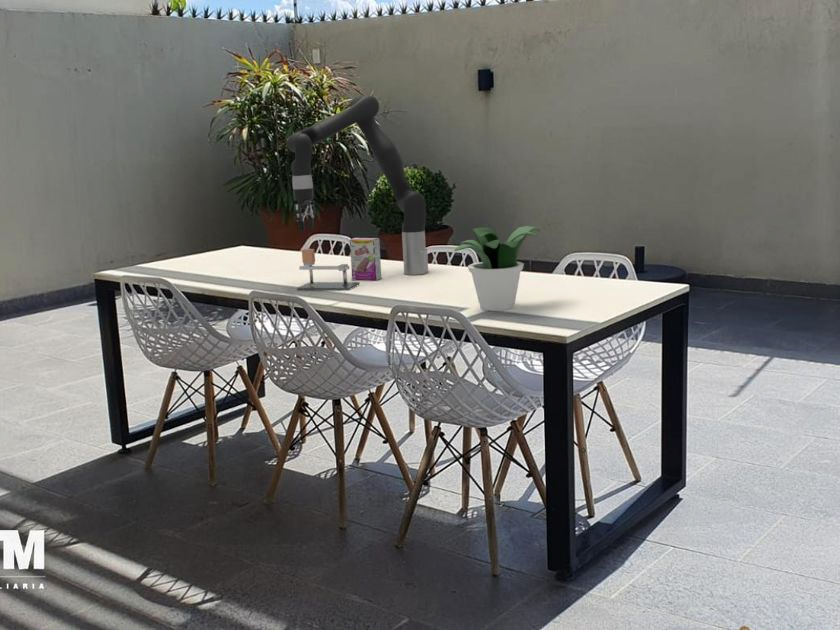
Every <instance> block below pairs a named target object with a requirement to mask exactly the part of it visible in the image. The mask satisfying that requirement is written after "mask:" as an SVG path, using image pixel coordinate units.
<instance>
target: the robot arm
mask: <svg viewBox="0 0 840 630" xmlns="http://www.w3.org/2000/svg"><path fill="white" fill-rule="evenodd" d="M379 111H380V104H379V101H378V99H377V98H376V97H374V96H373V95H370V94H363V95H360V96H356V97H354V98H353V99H351V100H350V102H349V107H348V108H346V109H344V110H342V111H340V112H338V113H334V114H333V115H331V116H330V115H329V116H328V117H326V118H324V119H322V120H320V121H318V122H316V123H314V124H312V125H311V126H309V127H306V128H303V129H301V130H299V131H297V132H295V133H292V134H291V135H290V136H289V137H288V139H287V141H286V147H287V148H288V150H289V151H291V152H292V153H295V154H294V160H292V162H291V173H292V191H293V193H292V194H293V200H294V201H297V203H295V204H293V211H294V212H293V215H294V221H296V222H297V227H298V232H303V233H304V232H305V228H306V227H305V217H306V218H307V219H306V224H307V229H308V230H309V229H314V227H315V226H314V218H315V217H316V207H315V205H316V204H315V201H314V199H315V197H314V182H313V178H312V168H311V167H312V166H311V160H312V154H313V145H315V144H319V143H322V142H324V141H326V140H327V139H330V138H331V137H333V136H334V135H337V134H338V133H340V132H341V131H343V130H346V129H347V128H349V127H351V126H353V125H355V124H356V125H357V126H358V128H359V129H360V131H361V133H362V134H363V136H364V138H365V140H366V142H367V144H368V146H369V148H370V150H371V153H372V154H373V156H374V158H375V160H376V162H377V164H378V166H379V168H380V170H381V171H382V173H383V176H384V177H385V179H386V180H387V183H388V184H389V186H390V188H391V191H392V193H393V195H394V198H395V200H396V203H397V207H398V208H399V209H400V211H401V212H402V213H403V216H404V217H403V220H404V221H403V223H402V225H401V236H402V237H401V239H402V256H403V257H402V258H403V273H404V275H407V276H414V275H415V276H416V275H425V274H427V273H429V260H428V259H429V258H428V248H426V233H425V232H426V231H425V226H426V223H427V213H426V212H427V210H426V207H427V205H426V199H425V197H424V195H423V194H421V193H420V192H417V191H414V190H413V188H412V187H411V184H410V183H409V181H408V179H407V177H406V174H405V169H404V164H403V160H402V156H401V155H400V152H399V151H398V148H397V147H396V144H395V143H394V142H393V141H392V139H391V138H390V137H389V136H388V135H387V134H386V133H385V132H384V131H383V130H382V129H381V127H380V126H379V125H378V123H377V120H376V119H375V116H377V115H378V112H379Z"/></svg>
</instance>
